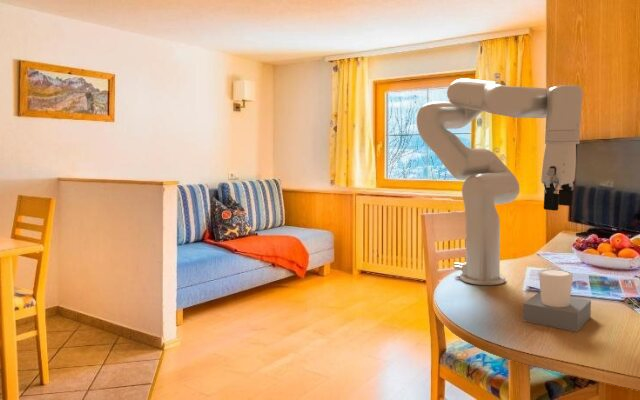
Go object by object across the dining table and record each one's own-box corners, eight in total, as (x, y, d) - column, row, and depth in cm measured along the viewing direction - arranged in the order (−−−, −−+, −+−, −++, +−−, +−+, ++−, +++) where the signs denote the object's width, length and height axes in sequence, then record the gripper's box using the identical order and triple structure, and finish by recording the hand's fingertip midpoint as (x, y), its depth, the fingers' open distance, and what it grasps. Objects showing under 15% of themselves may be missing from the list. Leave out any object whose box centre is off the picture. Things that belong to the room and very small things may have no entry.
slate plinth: (523, 320, 106) (523, 303, 106) (539, 307, 114) (539, 291, 114) (577, 331, 99) (577, 313, 99) (590, 317, 107) (590, 300, 107)
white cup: (559, 310, 101) (559, 278, 100) (531, 301, 107) (531, 271, 106) (579, 304, 104) (580, 273, 103) (551, 296, 110) (551, 267, 109)
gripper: (558, 137, 123) (554, 202, 125) (532, 138, 111) (528, 210, 113) (590, 137, 118) (585, 205, 120) (566, 138, 106) (561, 213, 108)
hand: (558, 207), depth 117 cm, fingers open, 9 cm apart
